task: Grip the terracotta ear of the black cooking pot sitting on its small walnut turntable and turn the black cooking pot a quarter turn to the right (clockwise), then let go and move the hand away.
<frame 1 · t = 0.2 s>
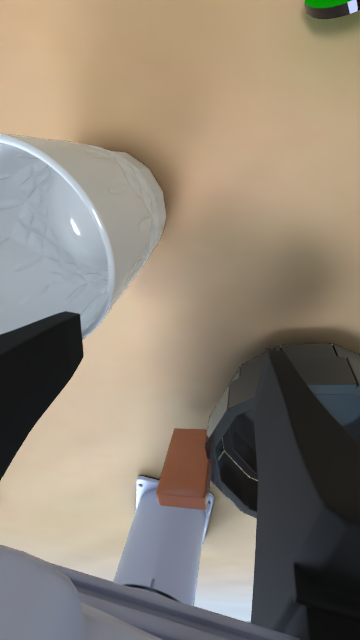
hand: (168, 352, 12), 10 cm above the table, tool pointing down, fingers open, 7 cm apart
white cup: (116, 209, 20), on the table
black cooking pot: (290, 454, 21), point 5 cm above the table, hinge at 0.0°
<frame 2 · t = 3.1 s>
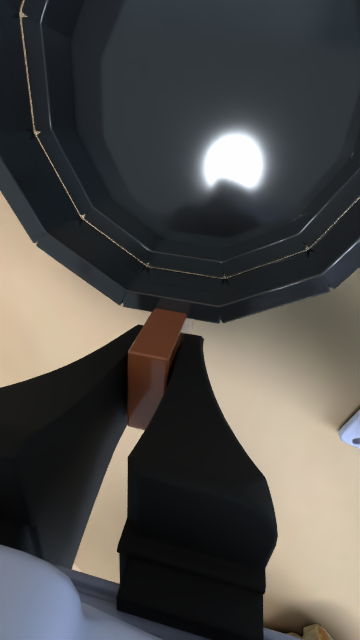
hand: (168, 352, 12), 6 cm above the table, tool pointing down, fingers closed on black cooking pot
black cooking pot: (191, 142, 9), point 5 cm above the table, hinge at 0.0°, touching gripper
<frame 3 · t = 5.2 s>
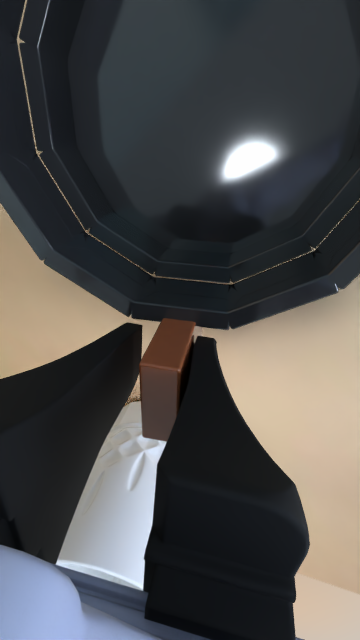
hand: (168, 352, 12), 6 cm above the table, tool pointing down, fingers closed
white cup: (158, 432, 23), on the table
black cooking pot: (190, 152, 9), point 5 cm above the table, hinge at -47.9°, touching gripper
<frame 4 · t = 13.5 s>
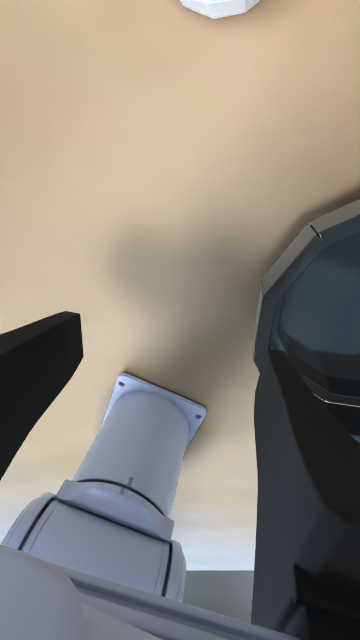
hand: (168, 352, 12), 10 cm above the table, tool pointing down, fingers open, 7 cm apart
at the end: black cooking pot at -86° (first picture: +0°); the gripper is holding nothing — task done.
